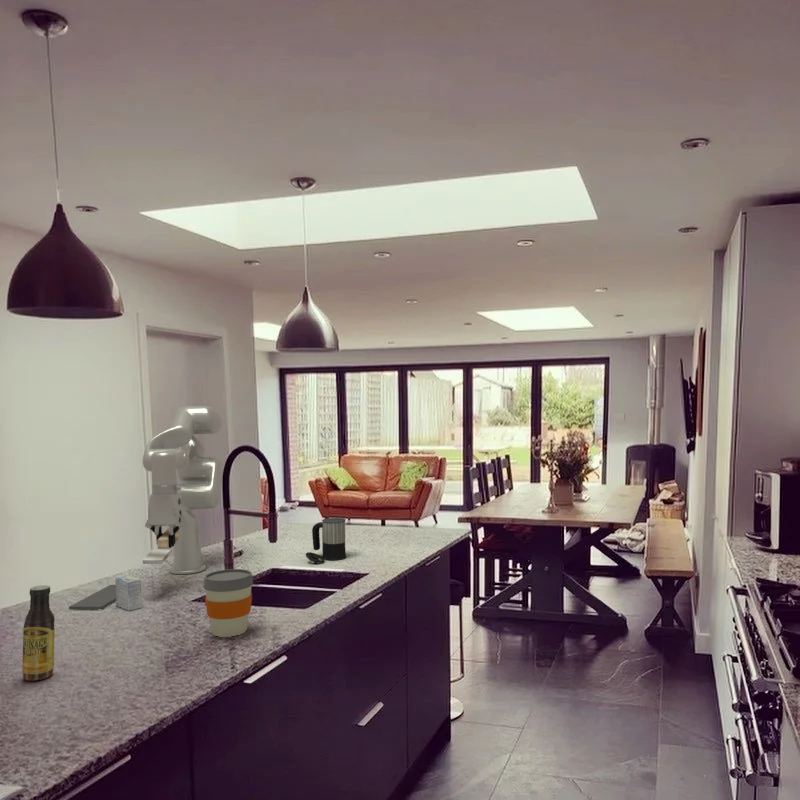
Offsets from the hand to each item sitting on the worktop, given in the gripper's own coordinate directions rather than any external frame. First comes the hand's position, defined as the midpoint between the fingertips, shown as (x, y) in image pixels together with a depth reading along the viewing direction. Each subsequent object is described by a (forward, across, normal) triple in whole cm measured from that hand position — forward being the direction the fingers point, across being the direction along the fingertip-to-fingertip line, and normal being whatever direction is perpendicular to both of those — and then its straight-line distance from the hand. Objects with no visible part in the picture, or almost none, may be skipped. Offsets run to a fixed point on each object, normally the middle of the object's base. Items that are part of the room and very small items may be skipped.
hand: (166, 546), depth 217 cm
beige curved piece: (+1, 0, +2) cm, 2 cm away
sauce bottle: (+13, +1, +68) cm, 69 cm away
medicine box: (+14, +5, +17) cm, 23 cm away
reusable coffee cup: (+14, -32, +39) cm, 53 cm away
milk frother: (+16, -45, -42) cm, 63 cm away
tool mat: (+14, +16, +7) cm, 23 cm away
